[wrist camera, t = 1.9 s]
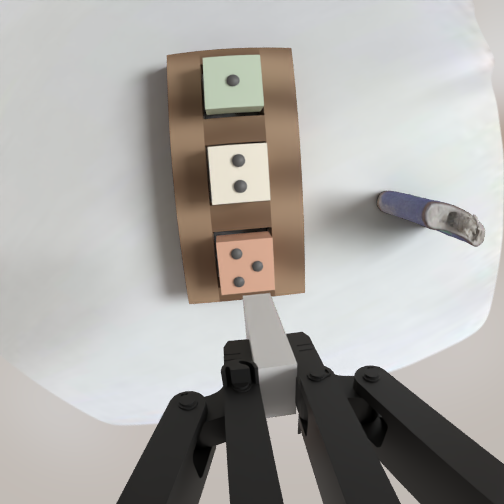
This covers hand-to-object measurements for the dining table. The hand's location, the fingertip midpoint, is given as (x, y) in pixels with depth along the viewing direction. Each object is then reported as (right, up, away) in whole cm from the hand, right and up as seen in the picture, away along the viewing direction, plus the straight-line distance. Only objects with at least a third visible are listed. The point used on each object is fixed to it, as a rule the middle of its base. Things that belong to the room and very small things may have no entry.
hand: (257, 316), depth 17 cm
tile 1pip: (-2, +17, +6) cm, 19 cm away
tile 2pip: (-2, +10, +8) cm, 13 cm away
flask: (+17, +9, +14) cm, 24 cm away
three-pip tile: (-1, +3, +10) cm, 11 cm away
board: (-2, +11, +11) cm, 16 cm away
